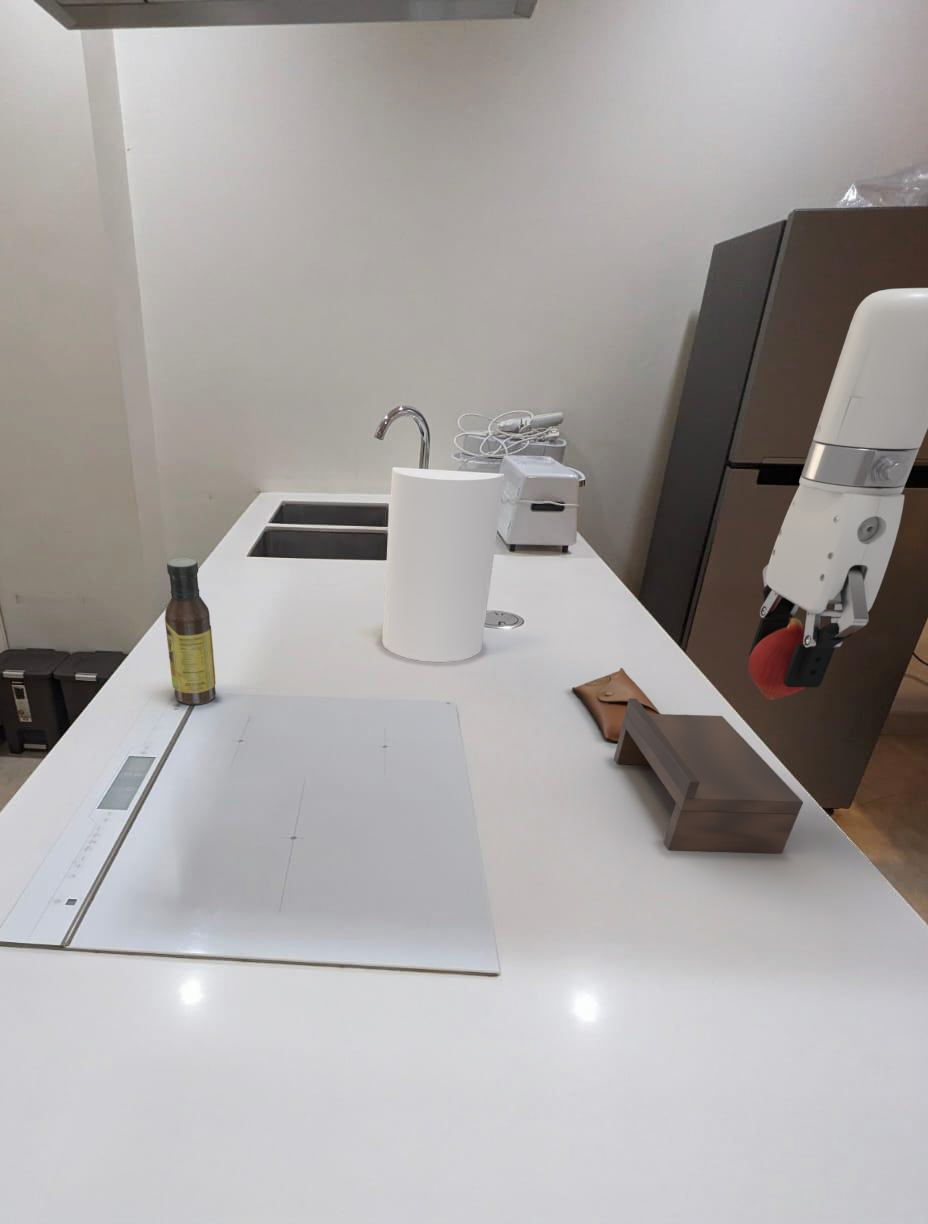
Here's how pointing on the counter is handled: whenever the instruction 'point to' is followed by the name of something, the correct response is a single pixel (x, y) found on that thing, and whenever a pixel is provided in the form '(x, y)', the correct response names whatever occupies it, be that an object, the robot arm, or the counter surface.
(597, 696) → the sunglasses case
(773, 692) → the onion
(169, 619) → the sauce bottle
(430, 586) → the cylinder
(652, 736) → the shelf
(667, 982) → the counter surface
